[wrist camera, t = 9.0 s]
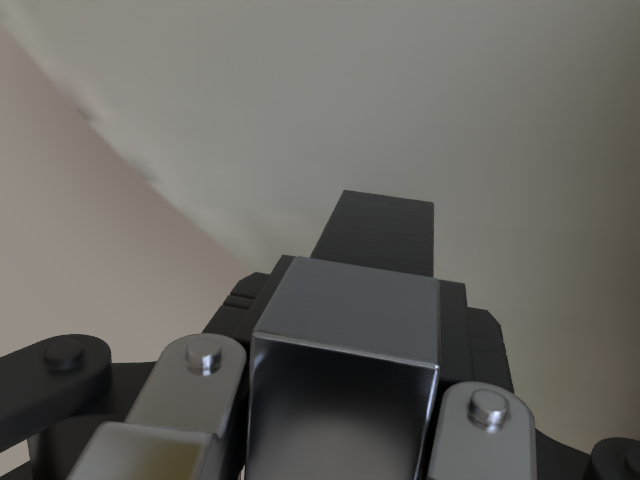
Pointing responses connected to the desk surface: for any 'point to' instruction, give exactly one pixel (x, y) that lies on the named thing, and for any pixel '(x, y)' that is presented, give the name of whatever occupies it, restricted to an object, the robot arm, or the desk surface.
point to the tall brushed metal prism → (349, 350)
